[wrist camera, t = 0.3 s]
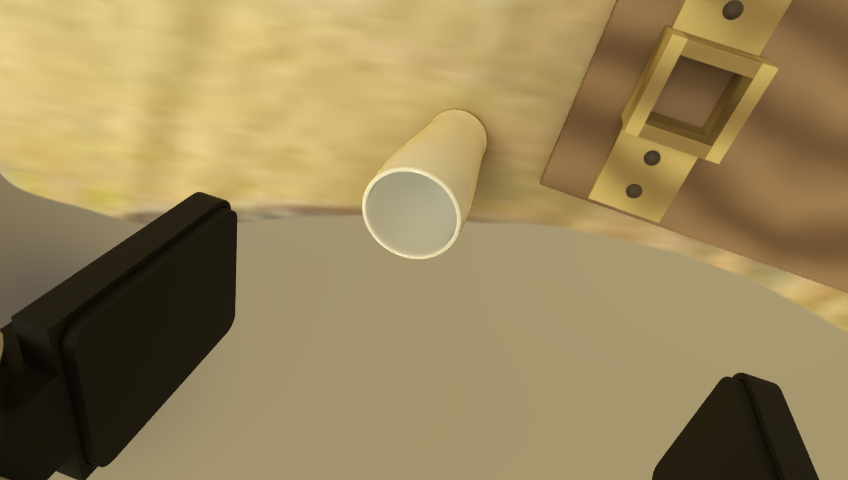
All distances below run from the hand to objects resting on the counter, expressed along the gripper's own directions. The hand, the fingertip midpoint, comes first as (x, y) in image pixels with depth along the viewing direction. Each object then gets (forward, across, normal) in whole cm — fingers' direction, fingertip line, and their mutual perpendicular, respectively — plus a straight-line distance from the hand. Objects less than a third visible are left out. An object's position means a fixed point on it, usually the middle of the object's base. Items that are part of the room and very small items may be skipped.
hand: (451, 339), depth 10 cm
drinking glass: (+36, +5, +10) cm, 38 cm away
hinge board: (+36, -18, +1) cm, 41 cm away
